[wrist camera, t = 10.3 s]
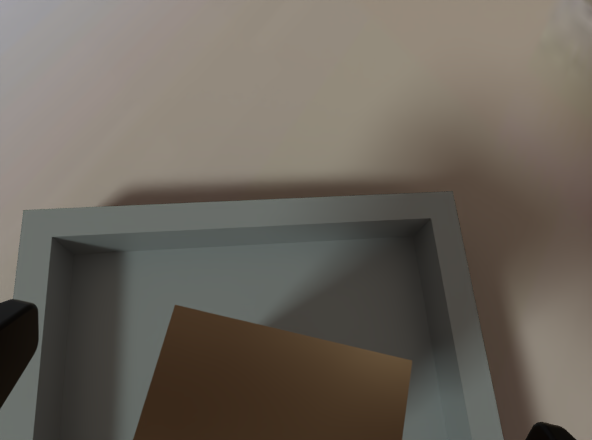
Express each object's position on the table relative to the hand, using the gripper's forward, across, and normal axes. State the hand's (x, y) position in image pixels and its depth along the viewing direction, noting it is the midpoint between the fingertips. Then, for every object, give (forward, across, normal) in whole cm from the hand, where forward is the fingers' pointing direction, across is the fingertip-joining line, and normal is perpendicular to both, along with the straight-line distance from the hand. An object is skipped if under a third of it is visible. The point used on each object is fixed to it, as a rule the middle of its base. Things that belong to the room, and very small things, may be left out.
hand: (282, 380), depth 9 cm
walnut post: (+8, 0, +10) cm, 13 cm away
